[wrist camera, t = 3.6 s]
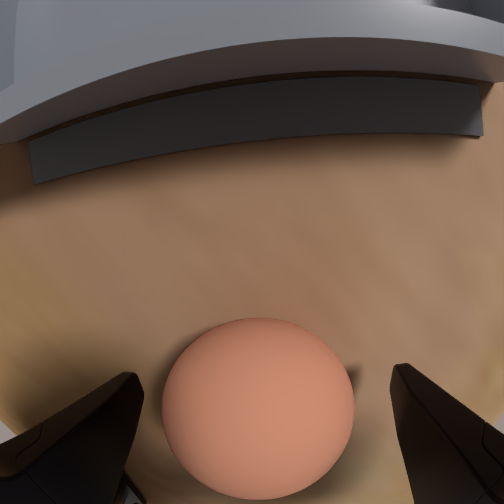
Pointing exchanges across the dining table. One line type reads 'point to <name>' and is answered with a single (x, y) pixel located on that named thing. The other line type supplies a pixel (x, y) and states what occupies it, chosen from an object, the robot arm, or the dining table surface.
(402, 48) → the tray
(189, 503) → the dining table surface
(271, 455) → the ball
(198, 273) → the dining table surface
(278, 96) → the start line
